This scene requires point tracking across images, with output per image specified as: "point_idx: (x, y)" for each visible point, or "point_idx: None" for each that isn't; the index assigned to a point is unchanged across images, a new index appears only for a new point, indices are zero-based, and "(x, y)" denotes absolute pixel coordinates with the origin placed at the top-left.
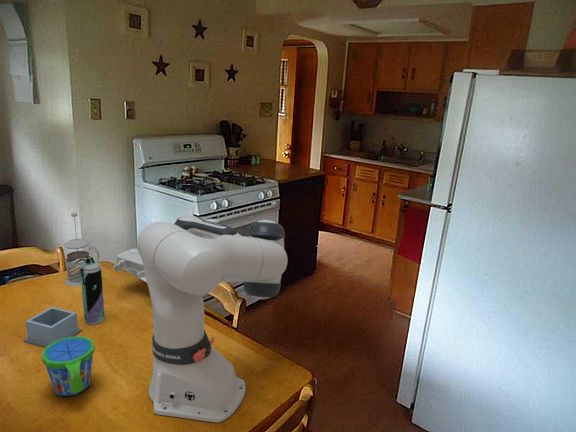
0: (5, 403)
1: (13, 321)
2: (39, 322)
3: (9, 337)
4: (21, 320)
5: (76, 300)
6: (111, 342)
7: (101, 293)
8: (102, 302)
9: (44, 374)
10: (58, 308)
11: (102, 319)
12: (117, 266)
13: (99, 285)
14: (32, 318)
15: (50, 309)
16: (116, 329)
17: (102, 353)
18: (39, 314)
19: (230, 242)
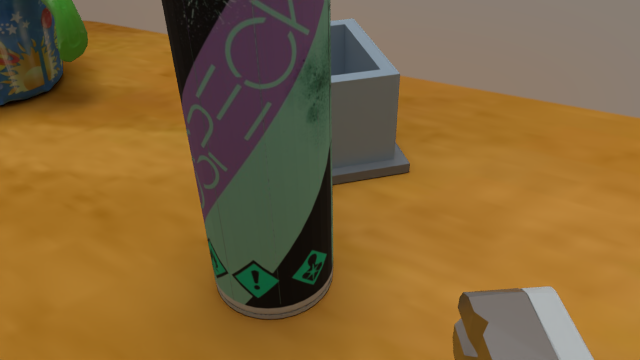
0: (137, 29)
1: (547, 116)
2: (356, 70)
3: (425, 87)
4: (537, 129)
5: (634, 335)
6: (27, 219)
7: (186, 118)
8: (200, 188)
9: (138, 75)
10: (356, 78)
11: (214, 274)
12: (467, 300)
13: (168, 34)
14: (354, 28)
15: (377, 65)
16: (76, 286)
17: (20, 172)
18: (366, 41)
19: None
